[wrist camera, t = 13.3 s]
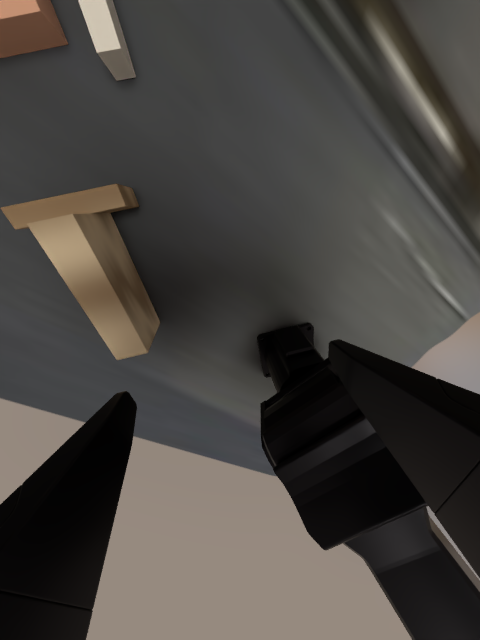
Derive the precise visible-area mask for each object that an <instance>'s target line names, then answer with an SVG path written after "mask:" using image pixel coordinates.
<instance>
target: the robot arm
mask: <svg viewBox="0 0 480 640" xmlns="http://www.w3.org/2000/svg"><path fill="white" fill-rule="evenodd" d="M308 327H309V328H308ZM307 328H308V329H307ZM313 332H314V327H313V325H312V324H311V323H306V324H302V325H298V326H292V327H288V328H284V329H280V330H276V331H273V332H269V333H265V334H261V335H259V336H258V337H257V340H258V346H259V352H260V358H261V363H262V369H263V374H264V376H265V377H271V378H272V380H273V383H274V385H275V388H276V390H277V394H275V395H274V396H273V397H271V398H270V399H268V400H267V401H264V402H262V403H261V441H262V448H263V450H264V452H265V454H266V457H267V459H268V461H269V462H270V464H271V466H272V467H273V470H274V472H275V474H276V475H277V476H278V478H279V479H280V480H281V482H282V483H283V484H284V486H285V488H286V489H287V491H288V493H289V495H290V496H291V498H292V500H293V502H294V504H295V506H296V508H297V510H298V512H299V515H300V517H301V519H302V521H303V523H304V525H305V528H306V530H307V532H308V533H309V535H310V536H311V537H312V538H313V539H314V540H315V541H316V542H317V543H318V544H319V545H320V547H321V548H323V549H324V550H328V549H331V548H333V547H335V546H338V545H340V544H342V543H343V544H344V545H346V546H347V547H348V548H350V549H351V550H352V551H354V552H355V553H356V554H358V555H359V556H360V557H361V558H363V559H364V561H365V562H366V564H367V566H368V567H369V569H370V570H371V572H372V573H373V575H374V577H375V578H376V580H377V582H378V583H379V585H380V587H381V588H382V590H383V592H384V593H385V595H386V597H387V598H388V600H389V602H390V603H391V605H392V607H393V608H394V610H395V612H396V613H397V615H398V617H399V618H400V620H401V621H402V623H403V625H404V627H405V628H406V630H407V632H408V633H409V635H410V636H411V638H412V640H480V581H479V579H478V578H477V577H476V575H475V574H474V573H473V572H472V570H471V569H470V568H469V567H468V565H467V564H466V563H465V561H464V560H463V559H462V557H461V556H460V555H459V554H458V552H457V551H456V550H455V548H454V547H453V546H452V545H451V543H450V542H449V541H448V539H447V538H446V537H445V536H444V534H443V533H442V532H441V531H440V529H439V528H438V527H437V525H436V524H435V523H434V522H433V520H432V519H431V518H430V516H429V515H428V512H427V508H426V506H429V507H430V508H431V510H432V511H433V512H434V513H435V516H436V517H437V519H438V520H439V521H440V523H441V524H442V526H443V527H444V529H445V530H446V531H447V533H448V534H449V536H450V537H451V538H452V540H453V541H454V543H455V544H456V545H457V547H458V548H459V550H460V551H461V552H462V554H463V555H464V557H465V558H466V559H467V561H468V562H469V563H470V565H471V566H472V568H473V569H474V571H475V572H476V573H477V575H478V576H479V578H480V394H477V393H474V392H472V391H469V390H466V389H464V388H461V387H458V386H456V385H453V384H451V383H448V382H446V381H443V380H441V379H436V378H435V377H433V376H430V375H428V374H425V373H423V372H420V371H418V370H415V369H412V368H410V367H408V366H405V365H403V364H400V363H398V362H395V361H393V360H390V359H388V358H385V357H383V356H380V355H378V354H375V353H373V352H370V351H368V350H365V349H362V348H360V347H357V346H355V345H352V344H350V343H347V342H345V341H342V340H339V339H338V340H333V341H330V343H329V353H328V356H329V357H328V358H327V359H325V360H324V359H323V358H322V357H321V355H320V354H319V353H318V352H317V350H316V349H315V348H314V346H313ZM261 338H263V339H262V340H260V339H261ZM267 373H268V374H267ZM136 411H137V405H136V402H135V401H134V400H133V398H132V397H131V395H130V394H129V393H128V392H127V391H124V392H120V393H117V394H115V395H114V396H113V397H112V398H111V399H110V400H109V401H108V402H107V403H106V404H105V405H104V406H103V407H102V408H101V409H100V410H99V411H97V412H96V413H95V414H94V415H93V416H92V417H91V418H90V419H89V420H88V421H87V422H86V423H85V424H84V425H83V426H82V427H81V428H80V429H79V430H78V431H77V432H76V433H75V434H74V435H72V436H71V437H70V438H69V439H68V440H67V441H66V442H65V443H64V444H63V445H62V446H61V447H60V448H59V449H58V450H57V451H56V452H55V453H54V454H53V455H52V456H51V457H50V458H49V459H47V460H46V461H45V462H44V463H43V464H42V465H41V466H40V467H39V468H38V469H37V470H36V471H35V472H34V473H33V474H32V475H31V476H30V477H29V478H28V479H27V480H26V481H25V482H24V483H23V484H22V485H21V486H20V487H18V488H17V489H16V490H15V491H14V492H13V493H12V494H11V495H10V496H9V497H8V498H7V499H6V500H5V501H4V502H3V503H2V504H0V640H86V637H87V633H88V629H89V624H90V619H91V616H92V612H93V611H92V609H93V607H94V602H95V598H96V594H97V590H98V585H99V581H100V577H101V573H102V569H103V565H104V560H105V556H106V552H107V547H108V543H109V539H110V535H111V531H112V527H113V522H114V518H115V514H116V510H117V506H118V501H119V497H120V493H121V489H122V484H123V480H124V476H125V472H126V468H127V463H128V459H129V455H130V451H131V446H132V440H133V433H134V426H135V418H136Z"/></svg>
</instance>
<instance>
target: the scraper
mask: <svg viewBox="0 0 480 640" xmlns="http://www.w3.org/2000/svg"><path fill="white" fill-rule="evenodd" d="M135 207H139V204H138V202H137V199H136V197H135V194H134V191H133V189H132V188H130V187H126V186H123V185H119V184H113V185H108V186H103V187H98V188H94V189H89V190H84V191H79V192H74V193H69V194H65V195H60V196H55V197H50V198H45V199H41V200H36V201H31V202H26V203H21V204H17V205H12V206H7V207H2V208H1V210H2V211H3V212H4V214H5V215H6V217H7V218H8V220H9V221H10V223H11V224H12V225H13V227H14V228H15V229H25V228H30V230H31V231H32V233H33V234H34V236H35V237H36V239H37V240H38V242H39V243H40V245H41V246H42V248H43V249H44V251H45V252H46V254H47V255H48V257H49V258H50V260H51V261H52V263H53V264H54V266H55V267H56V269H57V270H58V272H59V273H60V275H61V277H62V278H63V280H64V281H65V283H66V284H67V286H68V287H69V289H70V290H71V292H72V293H73V295H74V296H75V298H76V299H77V301H78V302H79V304H80V305H81V307H82V308H83V310H84V311H85V313H86V314H87V316H88V317H89V319H90V320H91V322H92V323H93V325H94V326H95V328H96V329H97V331H98V332H99V334H100V335H101V337H102V338H103V340H104V341H105V343H106V344H107V346H108V347H109V349H110V351H111V352H112V354H113V355H114V357H115V358H116V360H120V359H124V358H128V357H133V356H137V355H141V354H145V353H148V351H149V349H150V347H151V344H152V342H153V339H154V337H155V334H156V332H157V330H158V327H159V325H160V321H159V318H158V316H157V314H156V312H155V310H154V307H153V305H152V303H151V301H150V299H149V296H148V294H147V292H146V290H145V288H144V285H143V283H142V281H141V279H140V277H139V275H138V272H137V270H136V268H135V266H134V264H133V261H132V259H131V257H130V255H129V253H128V250H127V248H126V246H125V244H124V242H123V239H122V237H121V235H120V233H119V231H118V229H117V226H116V224H115V222H114V220H113V218H112V215H111V213H112V212H117V211H121V210H126V209H131V208H135Z"/></svg>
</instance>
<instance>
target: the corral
mask: <svg viewBox="0 0 480 640" xmlns="http://www.w3.org/2000/svg"><path fill="white" fill-rule="evenodd" d="M78 1H79V4H80V7H81V9H82V12H83V15H84V18H85V21H86V23H87V26H88V29H89V32H90V35H91V37H92V40H93V43H94V46H95V49H96V51H97V53H98V55H99V56H100V58H101V59H102V61H103V62H104V63H105V65H106V66H107V68H108V69H109V71H110V72H111V73H112V75H113V76H114V78H115V79H116V81H119V80H124V79H129V78H135V77H136V75H135V71H134V68H133V65H132V62H131V58H130V55H129V52H128V48H127V45H126V42H125V38H124V35H123V32H122V29H121V25H120V22H119V19H118V15H117V12H116V9H115V6H114V2H113V0H78Z"/></svg>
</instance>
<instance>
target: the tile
mask: <svg viewBox="0 0 480 640" xmlns="http://www.w3.org/2000/svg"><path fill="white" fill-rule="evenodd" d="M63 45H68V42H67V40H66V37H65V35H64V32H63V30H62V27H61V25H60V23H59V20H58V18H57V15H56V13H55V10H54V8H53V5H52V3H51V1H50V0H0V58H4V57H9V56H14V55H19V54H24V53H29V52H34V51H39V50H44V49H48V48H53V47H58V46H63Z"/></svg>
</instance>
